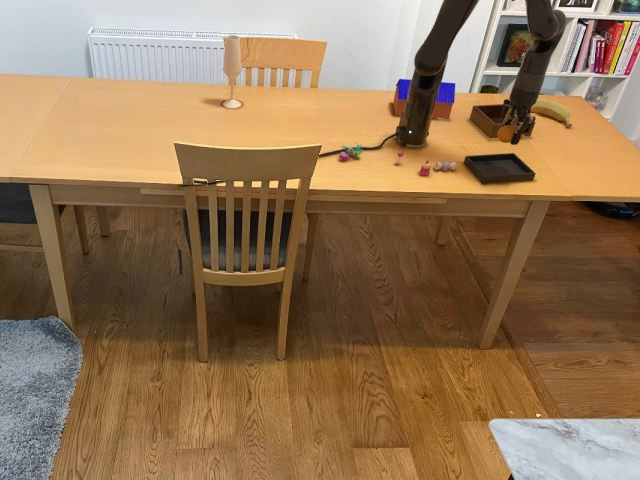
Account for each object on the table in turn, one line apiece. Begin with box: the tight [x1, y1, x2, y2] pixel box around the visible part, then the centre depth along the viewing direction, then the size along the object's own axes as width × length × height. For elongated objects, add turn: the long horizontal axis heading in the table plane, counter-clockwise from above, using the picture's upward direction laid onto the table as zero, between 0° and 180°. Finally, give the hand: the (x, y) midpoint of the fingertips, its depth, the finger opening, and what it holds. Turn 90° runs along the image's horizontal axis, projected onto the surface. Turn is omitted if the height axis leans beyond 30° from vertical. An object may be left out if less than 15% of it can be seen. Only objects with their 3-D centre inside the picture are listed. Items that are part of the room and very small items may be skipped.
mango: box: [497, 125, 525, 144], centre depth 178 cm, size 8×5×5 cm, turn 101°
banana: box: [530, 98, 573, 129], centre depth 217 cm, size 14×6×20 cm
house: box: [392, 78, 456, 120], centre depth 215 cm, size 12×20×12 cm, turn 84°
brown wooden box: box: [469, 103, 536, 139], centre depth 208 cm, size 16×16×6 cm
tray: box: [463, 152, 536, 185], centre depth 185 cm, size 17×13×3 cm
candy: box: [397, 150, 457, 176], centre depth 183 cm, size 18×8×6 cm, turn 91°
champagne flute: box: [222, 34, 243, 109], centre depth 209 cm, size 7×7×24 cm
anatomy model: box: [339, 142, 364, 161], centre depth 188 cm, size 5×8×7 cm
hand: (508, 139), depth 179 cm, fingers closed on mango, 5 cm apart
